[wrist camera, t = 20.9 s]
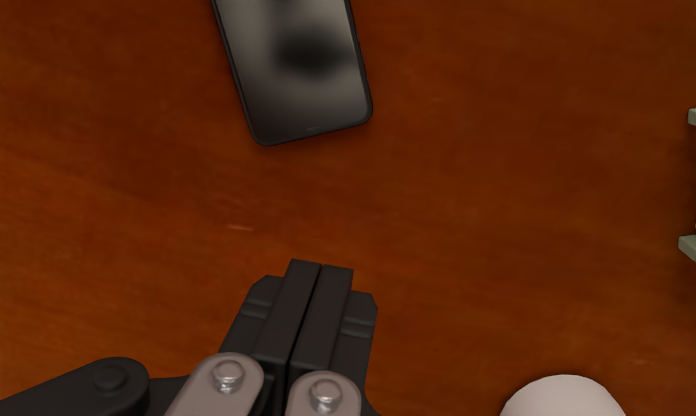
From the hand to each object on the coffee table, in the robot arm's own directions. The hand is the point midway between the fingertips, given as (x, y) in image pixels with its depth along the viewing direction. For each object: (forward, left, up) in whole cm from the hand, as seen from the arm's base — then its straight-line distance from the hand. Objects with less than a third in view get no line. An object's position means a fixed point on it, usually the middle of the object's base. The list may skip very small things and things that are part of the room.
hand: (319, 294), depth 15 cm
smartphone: (-4, -4, -25) cm, 26 cm away
